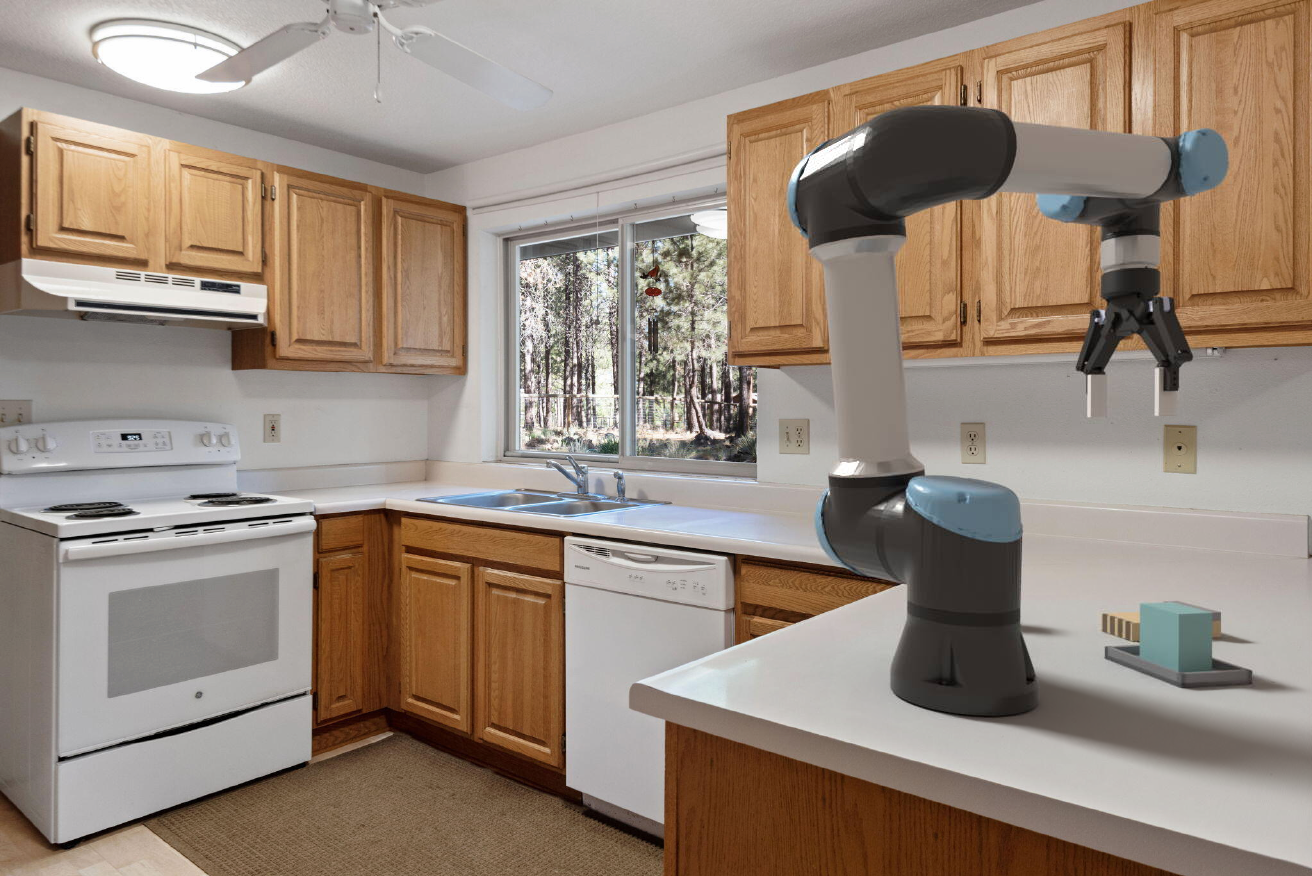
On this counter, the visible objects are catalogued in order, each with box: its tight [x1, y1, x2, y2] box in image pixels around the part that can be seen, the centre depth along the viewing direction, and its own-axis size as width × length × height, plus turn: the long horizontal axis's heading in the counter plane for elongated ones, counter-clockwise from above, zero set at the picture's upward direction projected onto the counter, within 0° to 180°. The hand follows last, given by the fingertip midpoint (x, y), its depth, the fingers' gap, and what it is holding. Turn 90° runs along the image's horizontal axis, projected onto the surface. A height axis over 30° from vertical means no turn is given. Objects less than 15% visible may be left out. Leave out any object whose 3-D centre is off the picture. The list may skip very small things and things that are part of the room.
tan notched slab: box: [1100, 600, 1222, 642], centre depth 117 cm, size 14×8×4 cm, turn 100°
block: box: [1139, 602, 1213, 673], centre depth 99 cm, size 4×6×7 cm
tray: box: [1104, 644, 1253, 689], centre depth 99 cm, size 9×12×2 cm
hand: (1129, 416), depth 120 cm, fingers open, 13 cm apart
